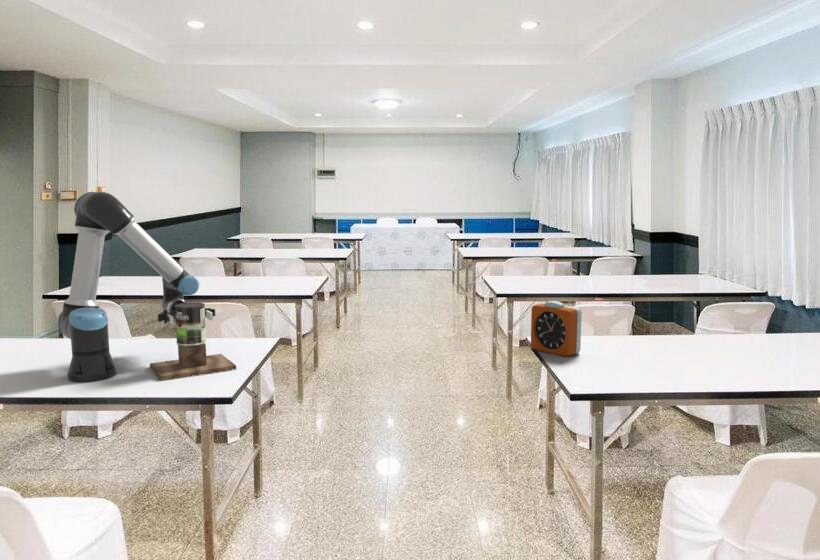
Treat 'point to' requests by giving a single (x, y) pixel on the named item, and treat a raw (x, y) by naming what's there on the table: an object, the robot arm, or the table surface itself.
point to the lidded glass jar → (190, 324)
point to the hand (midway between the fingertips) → (192, 318)
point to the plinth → (180, 372)
